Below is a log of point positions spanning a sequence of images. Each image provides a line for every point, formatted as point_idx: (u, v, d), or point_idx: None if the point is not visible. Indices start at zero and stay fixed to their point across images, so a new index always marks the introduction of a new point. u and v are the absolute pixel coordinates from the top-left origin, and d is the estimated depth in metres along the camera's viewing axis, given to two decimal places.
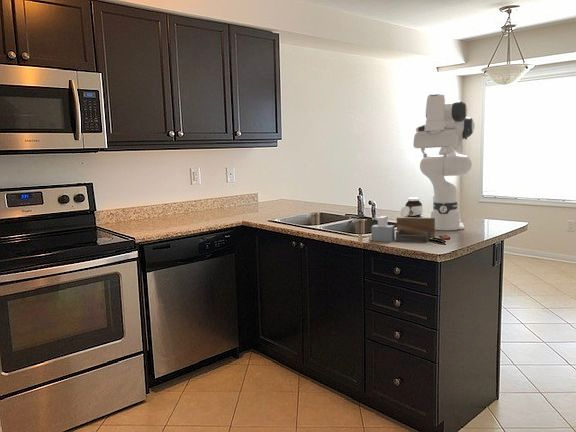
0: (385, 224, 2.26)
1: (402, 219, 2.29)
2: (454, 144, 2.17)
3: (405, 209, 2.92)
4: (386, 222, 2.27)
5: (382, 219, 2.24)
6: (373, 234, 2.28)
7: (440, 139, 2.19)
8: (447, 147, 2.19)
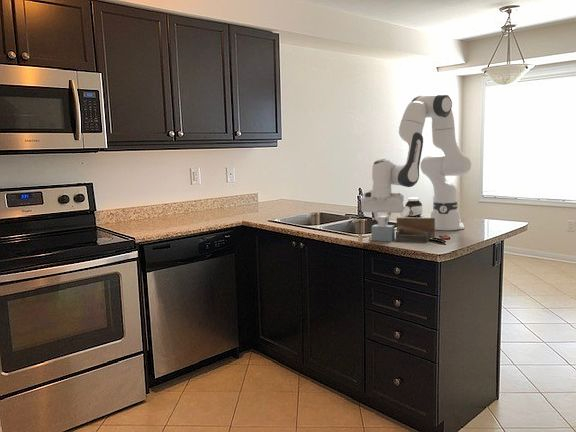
0: (385, 224, 2.26)
1: (402, 219, 2.29)
2: (399, 211, 2.21)
3: (405, 209, 2.92)
4: (386, 222, 2.27)
5: (382, 219, 2.24)
6: (373, 234, 2.28)
7: (386, 205, 2.23)
8: (388, 213, 2.24)
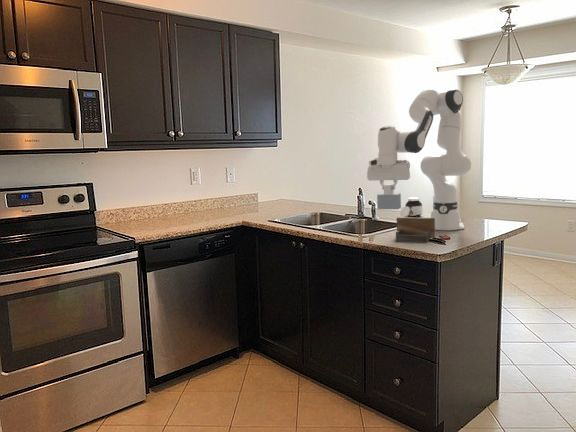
0: (391, 192, 2.23)
1: (402, 219, 2.29)
2: (406, 178, 2.17)
3: (405, 209, 2.92)
4: (392, 190, 2.24)
5: (388, 187, 2.21)
6: (379, 202, 2.25)
7: (392, 173, 2.20)
8: (394, 181, 2.21)
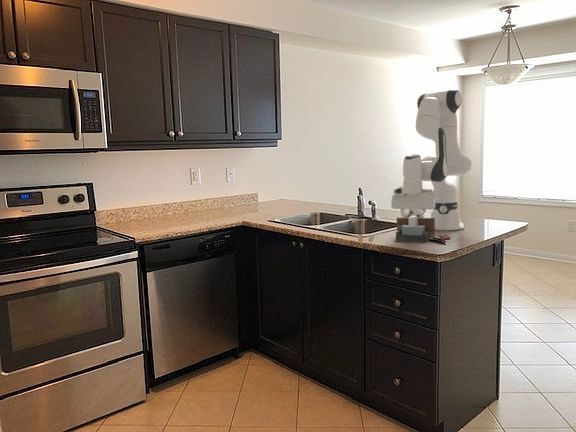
0: (416, 224, 2.22)
1: (402, 219, 2.29)
2: (431, 208, 2.16)
3: (405, 209, 2.92)
4: (416, 222, 2.23)
5: (413, 219, 2.20)
6: (403, 234, 2.24)
7: (417, 202, 2.19)
8: (423, 210, 2.19)
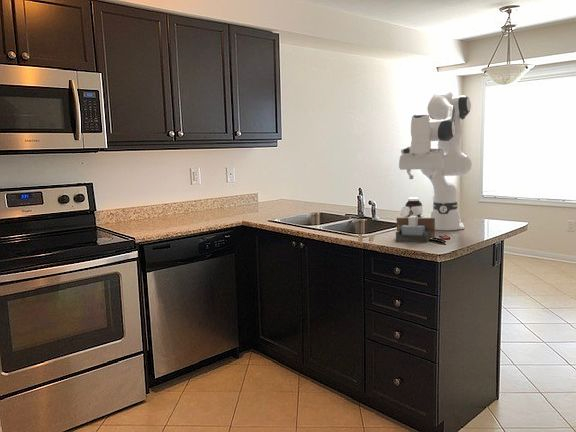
0: (416, 224, 2.22)
1: (402, 219, 2.29)
2: (440, 167, 2.12)
3: (405, 209, 2.92)
4: (416, 222, 2.23)
5: (413, 219, 2.20)
6: (403, 234, 2.24)
7: (426, 161, 2.14)
8: (433, 170, 2.14)
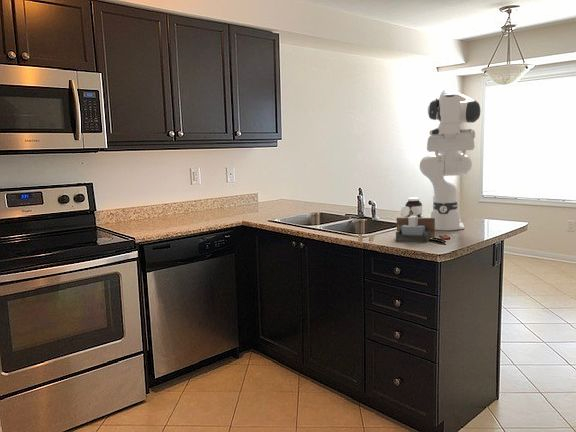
0: (416, 224, 2.22)
1: (402, 219, 2.29)
2: (470, 148, 2.05)
3: (405, 209, 2.92)
4: (416, 222, 2.23)
5: (413, 219, 2.20)
6: (403, 234, 2.24)
7: (455, 143, 2.08)
8: (463, 151, 2.07)
